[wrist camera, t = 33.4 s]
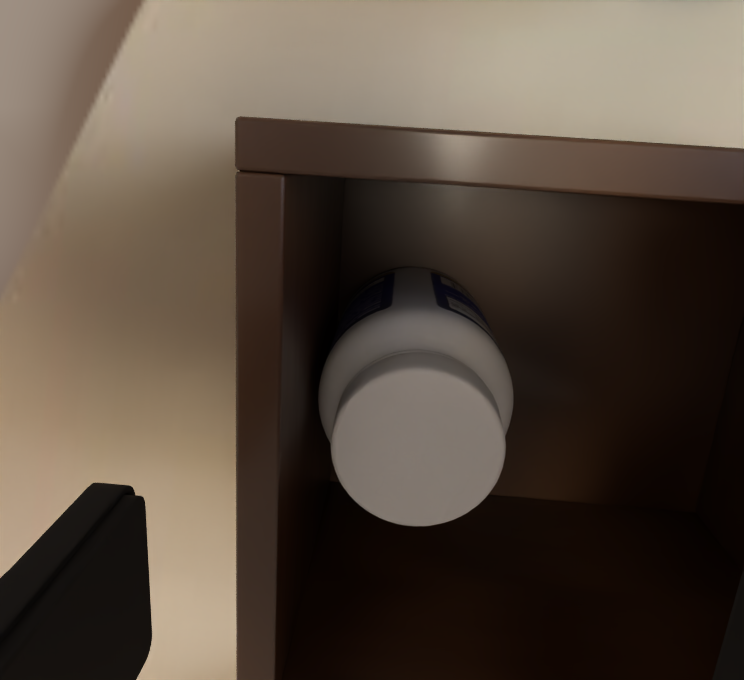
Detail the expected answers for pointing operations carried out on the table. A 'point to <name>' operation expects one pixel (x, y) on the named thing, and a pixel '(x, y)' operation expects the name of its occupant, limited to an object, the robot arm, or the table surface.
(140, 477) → the table surface
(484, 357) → the pill bottle
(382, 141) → the chest
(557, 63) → the table surface
